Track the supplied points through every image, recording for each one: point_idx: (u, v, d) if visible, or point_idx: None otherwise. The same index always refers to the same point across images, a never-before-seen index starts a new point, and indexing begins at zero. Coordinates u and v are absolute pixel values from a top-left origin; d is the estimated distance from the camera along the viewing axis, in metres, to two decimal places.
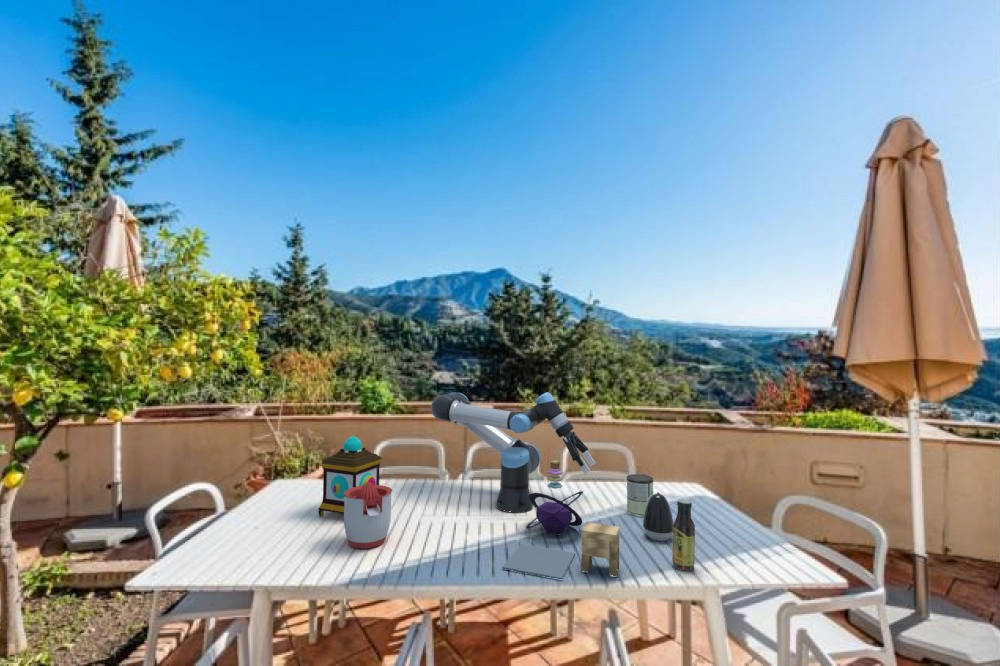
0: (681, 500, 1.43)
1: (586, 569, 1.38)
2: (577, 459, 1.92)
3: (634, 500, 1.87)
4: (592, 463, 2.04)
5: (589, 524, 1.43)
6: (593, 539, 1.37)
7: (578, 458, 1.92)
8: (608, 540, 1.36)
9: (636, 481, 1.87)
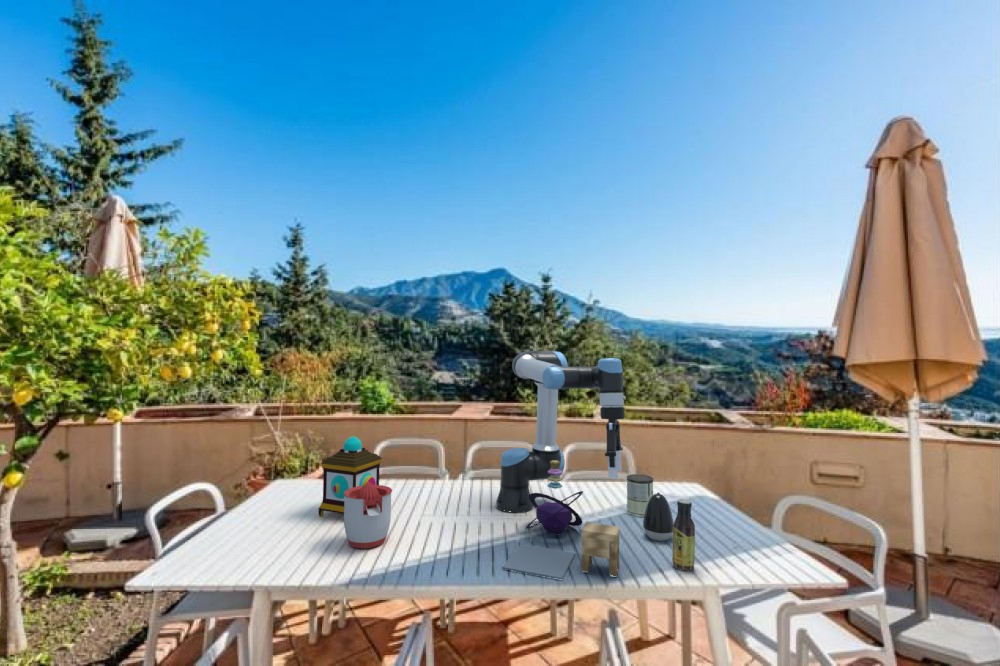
0: (681, 500, 1.43)
1: (586, 569, 1.38)
2: (611, 457, 1.42)
3: (634, 500, 1.87)
4: (618, 468, 1.55)
5: (589, 524, 1.43)
6: (593, 539, 1.37)
7: (613, 456, 1.42)
8: (608, 540, 1.36)
9: (636, 481, 1.87)
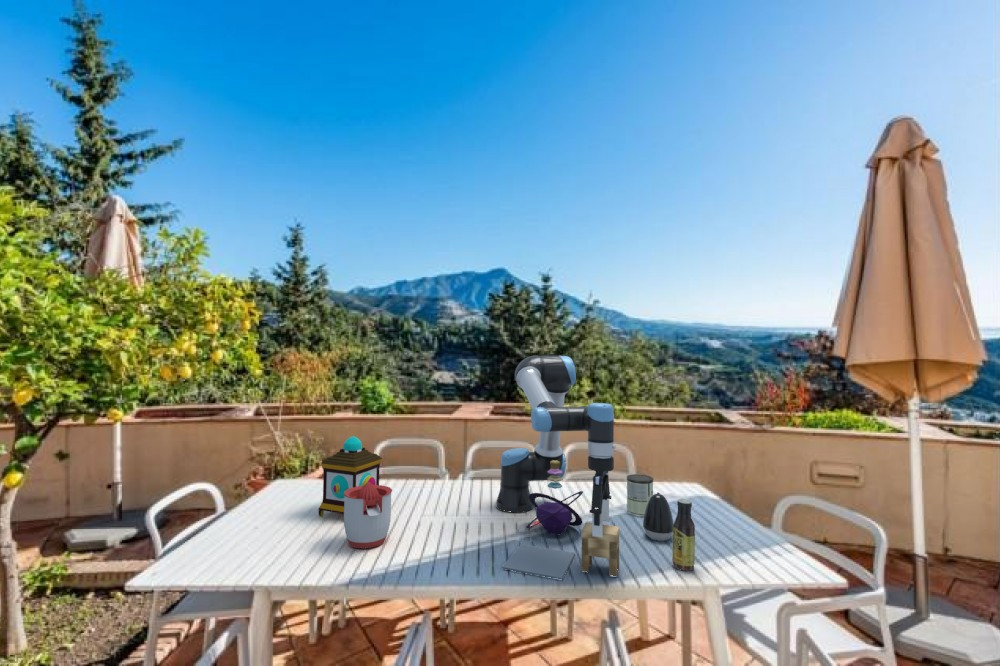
0: (681, 500, 1.43)
1: (586, 569, 1.38)
2: (596, 514, 1.32)
3: (634, 500, 1.87)
4: (605, 518, 1.46)
5: (589, 524, 1.43)
6: (593, 539, 1.37)
7: (598, 514, 1.32)
8: (608, 540, 1.36)
9: (636, 481, 1.87)
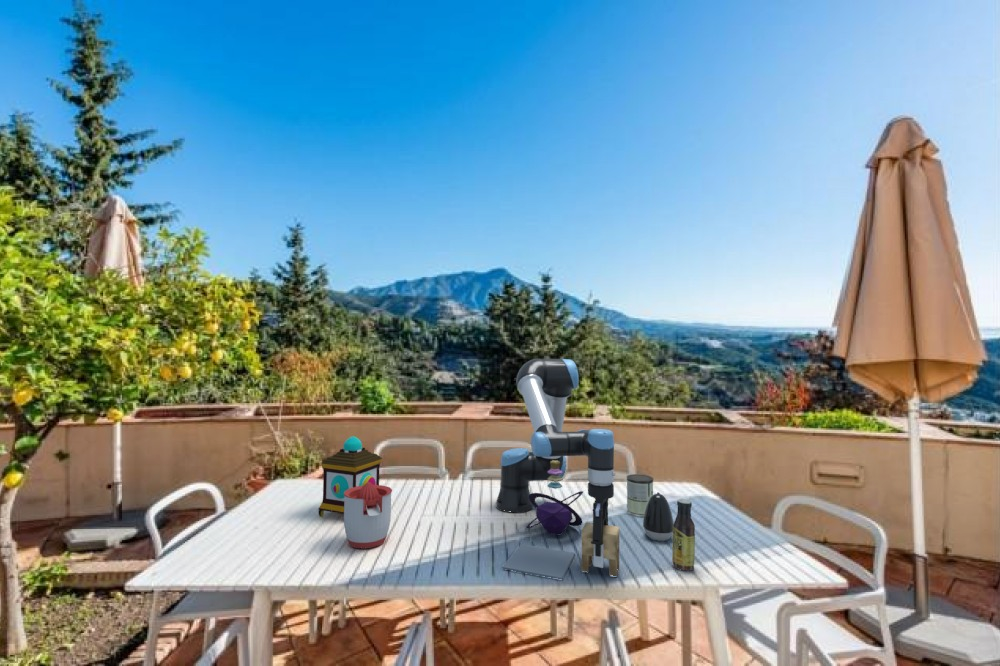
0: (681, 500, 1.43)
1: (586, 569, 1.38)
2: (597, 545, 1.35)
3: (634, 500, 1.87)
4: None
5: (589, 524, 1.43)
6: None
7: (599, 545, 1.35)
8: (608, 540, 1.36)
9: (636, 481, 1.87)
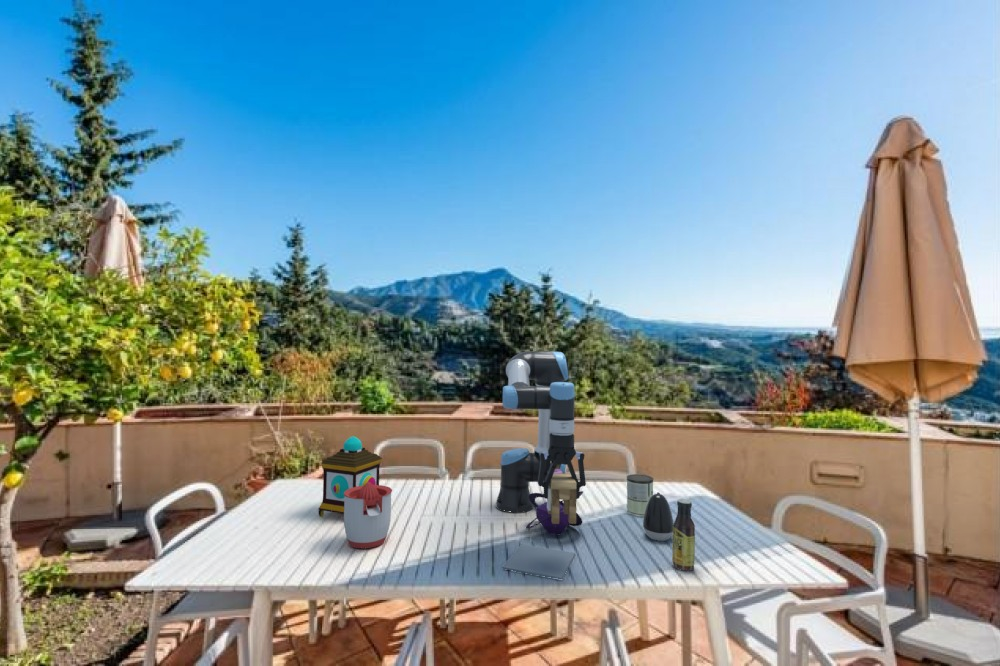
0: (681, 500, 1.43)
1: None
2: None
3: (634, 500, 1.87)
4: None
5: (566, 474, 1.47)
6: None
7: None
8: (551, 486, 1.41)
9: (636, 481, 1.87)
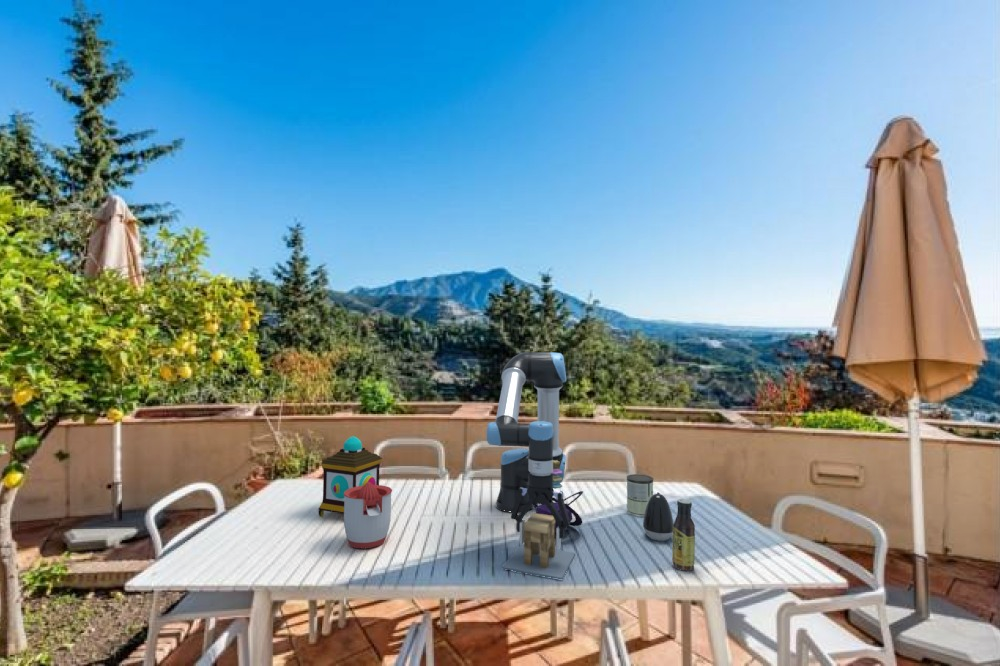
0: (681, 500, 1.43)
1: None
2: None
3: (634, 500, 1.87)
4: None
5: (549, 516, 1.47)
6: None
7: None
8: None
9: (636, 481, 1.87)
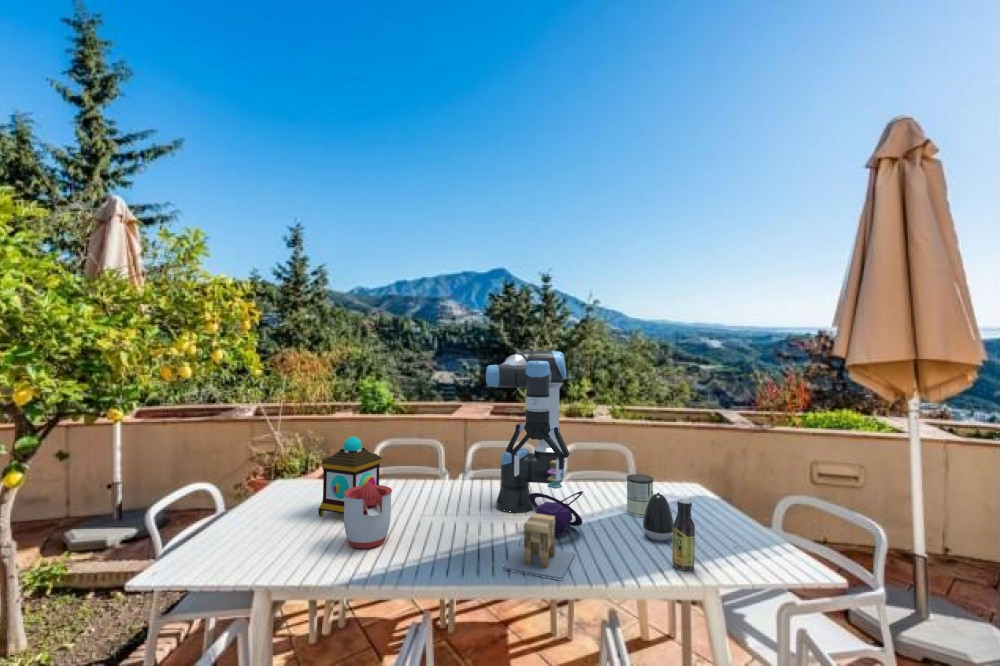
0: (681, 500, 1.43)
1: None
2: None
3: (634, 500, 1.87)
4: None
5: (549, 516, 1.47)
6: None
7: (511, 454, 1.51)
8: None
9: (636, 481, 1.87)
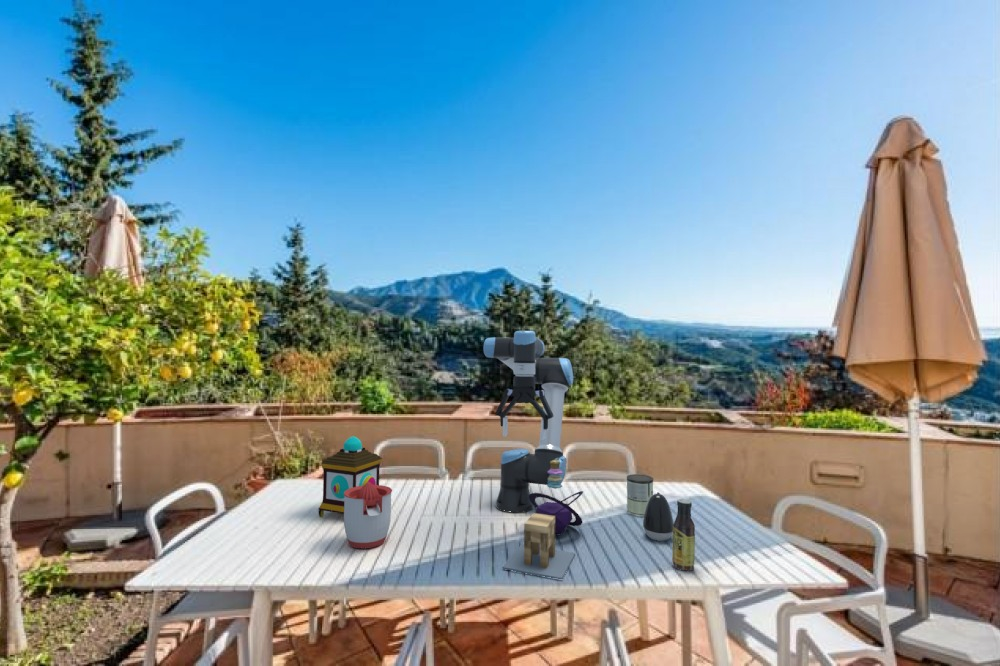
0: (681, 500, 1.43)
1: None
2: None
3: (634, 500, 1.87)
4: None
5: (549, 516, 1.47)
6: None
7: None
8: None
9: (636, 481, 1.87)
